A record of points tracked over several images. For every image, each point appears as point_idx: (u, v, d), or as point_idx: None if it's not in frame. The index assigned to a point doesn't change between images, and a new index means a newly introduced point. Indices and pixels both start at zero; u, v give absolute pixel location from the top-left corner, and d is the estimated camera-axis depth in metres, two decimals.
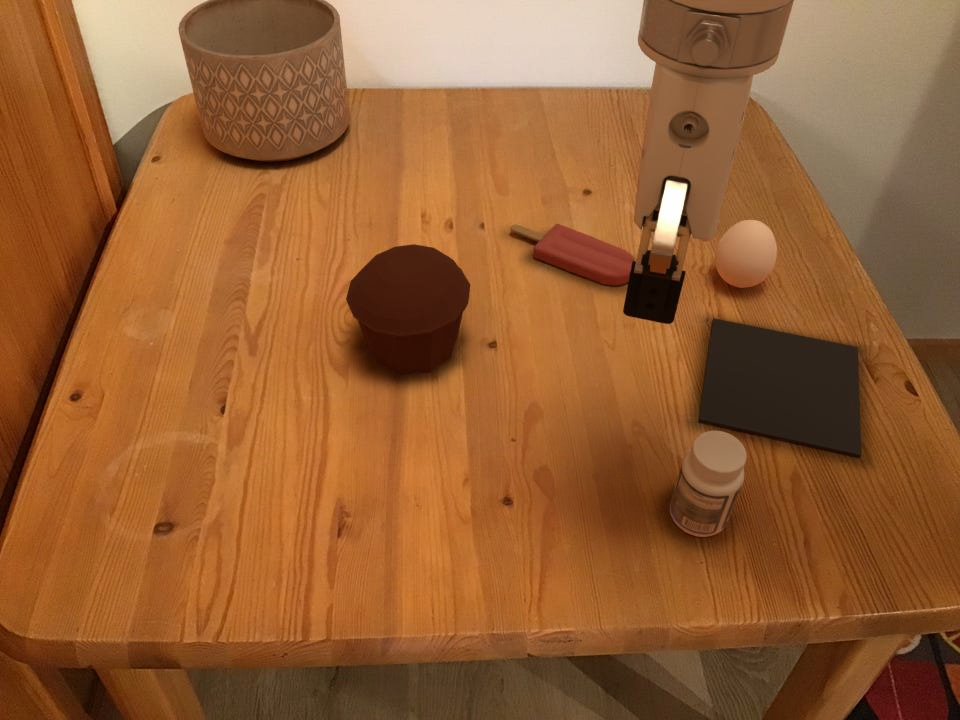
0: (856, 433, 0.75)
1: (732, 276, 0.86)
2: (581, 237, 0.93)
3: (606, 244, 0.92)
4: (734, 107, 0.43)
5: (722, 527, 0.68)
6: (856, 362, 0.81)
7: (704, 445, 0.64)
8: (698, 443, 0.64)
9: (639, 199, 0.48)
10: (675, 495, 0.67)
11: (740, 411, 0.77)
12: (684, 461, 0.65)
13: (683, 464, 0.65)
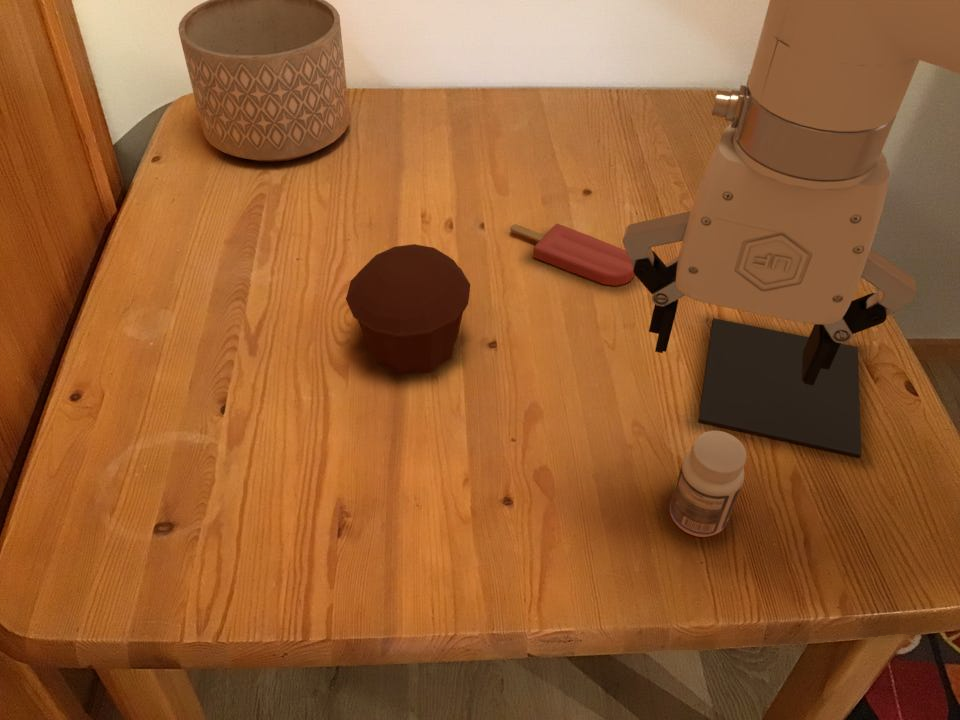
0: (856, 433, 0.75)
1: None
2: (581, 237, 0.93)
3: (606, 244, 0.92)
4: (714, 172, 0.46)
5: (722, 527, 0.68)
6: (856, 362, 0.81)
7: (704, 445, 0.64)
8: (698, 443, 0.64)
9: None
10: (675, 495, 0.67)
11: (740, 411, 0.77)
12: (684, 461, 0.65)
13: (683, 464, 0.65)
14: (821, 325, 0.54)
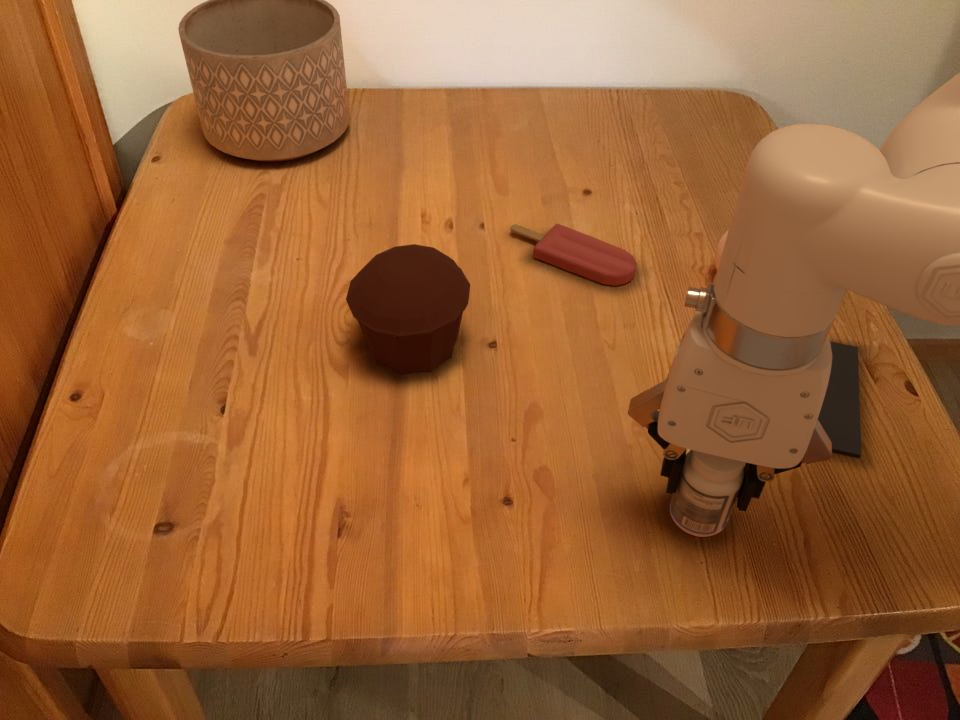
0: (856, 433, 0.75)
1: None
2: (581, 237, 0.93)
3: (606, 244, 0.92)
4: (687, 353, 0.55)
5: (722, 527, 0.68)
6: (856, 362, 0.81)
7: None
8: None
9: None
10: (675, 495, 0.67)
11: None
12: None
13: None
14: (750, 464, 0.64)
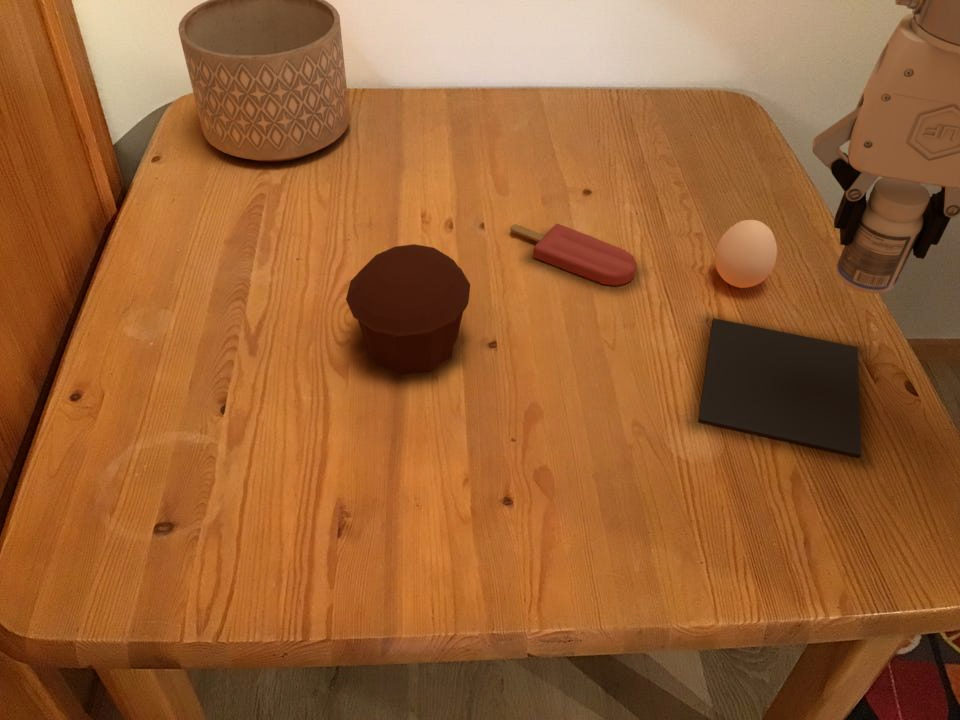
0: (856, 433, 0.75)
1: (732, 276, 0.86)
2: (581, 237, 0.93)
3: (606, 244, 0.92)
4: (897, 53, 0.55)
5: (894, 283, 0.68)
6: (856, 362, 0.81)
7: (885, 186, 0.64)
8: (879, 185, 0.64)
9: None
10: (847, 250, 0.67)
11: (740, 411, 0.77)
12: None
13: None
14: (932, 205, 0.64)
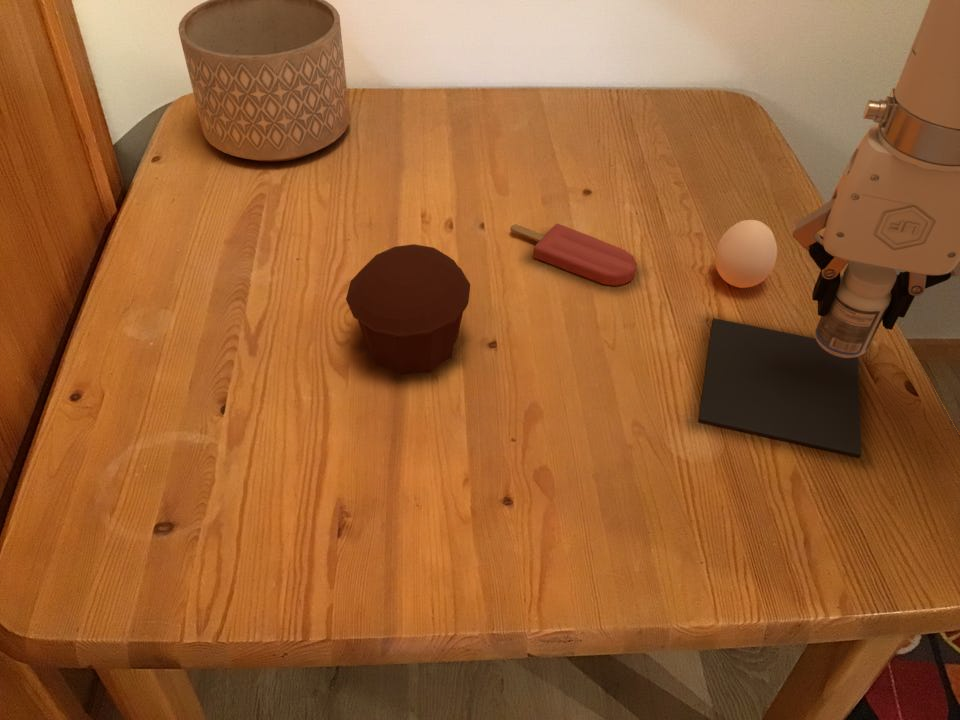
0: (856, 433, 0.75)
1: (732, 276, 0.86)
2: (581, 237, 0.93)
3: (606, 244, 0.92)
4: (865, 160, 0.63)
5: (866, 349, 0.75)
6: (856, 362, 0.81)
7: (858, 266, 0.71)
8: (852, 264, 0.71)
9: None
10: (824, 319, 0.75)
11: (740, 411, 0.77)
12: None
13: None
14: (899, 283, 0.71)
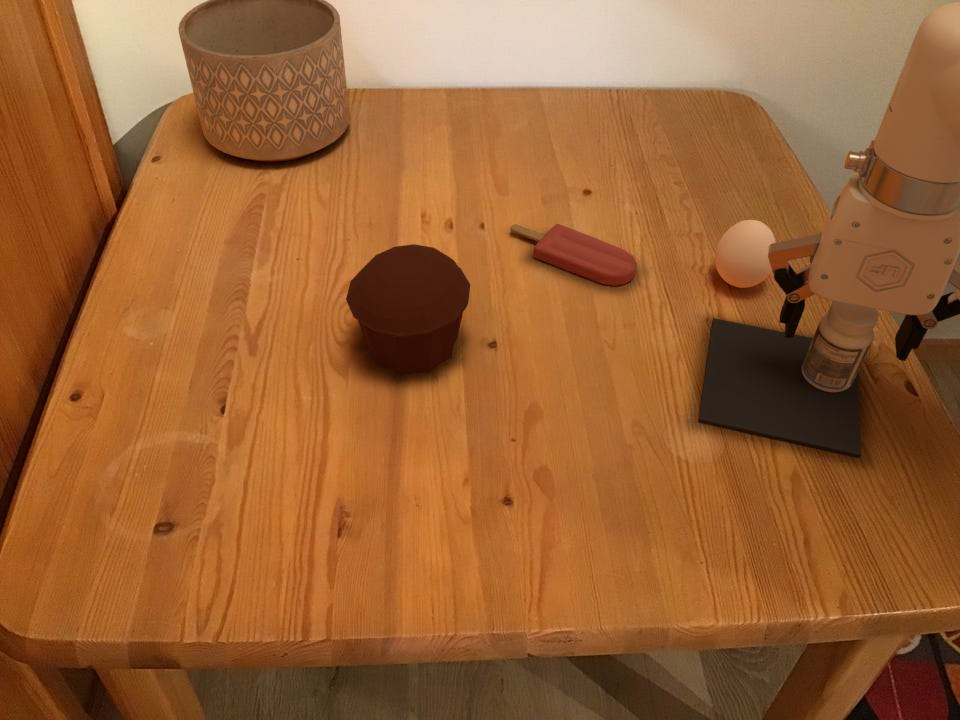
0: (856, 433, 0.75)
1: (732, 276, 0.86)
2: (581, 237, 0.93)
3: (606, 244, 0.92)
4: (846, 208, 0.66)
5: (850, 383, 0.78)
6: None
7: (841, 306, 0.74)
8: (836, 304, 0.75)
9: None
10: (810, 355, 0.78)
11: (740, 411, 0.77)
12: (821, 322, 0.76)
13: (820, 325, 0.76)
14: (912, 316, 0.73)
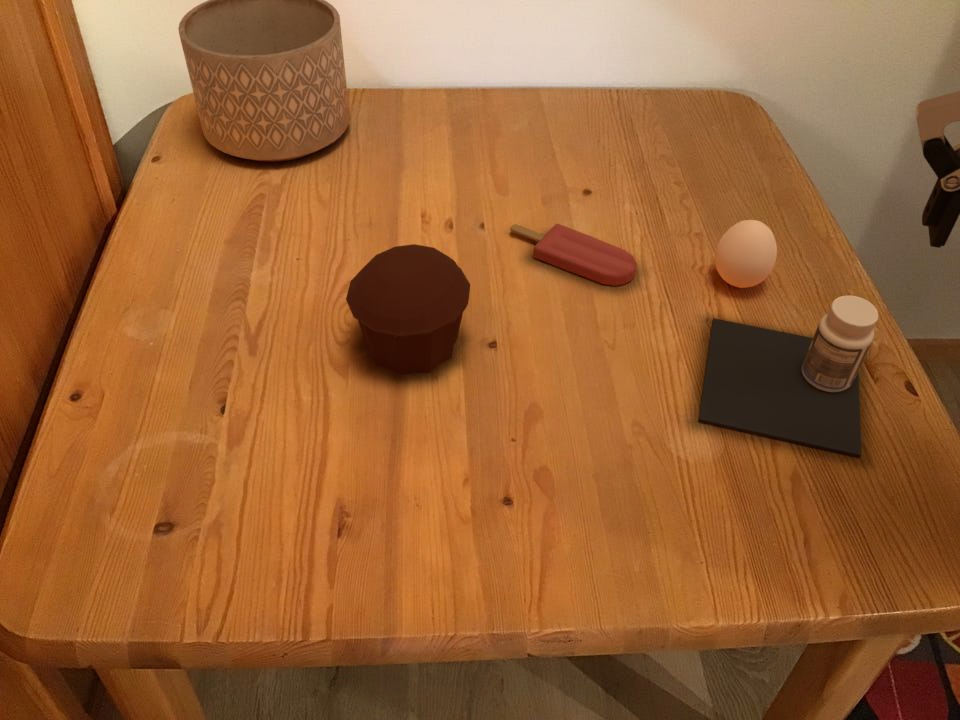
0: (856, 433, 0.75)
1: (732, 276, 0.86)
2: (581, 237, 0.93)
3: (606, 244, 0.92)
4: None
5: (850, 383, 0.78)
6: None
7: (841, 306, 0.74)
8: (836, 304, 0.75)
9: None
10: (810, 355, 0.78)
11: (740, 411, 0.77)
12: (821, 322, 0.76)
13: (820, 325, 0.76)
14: None
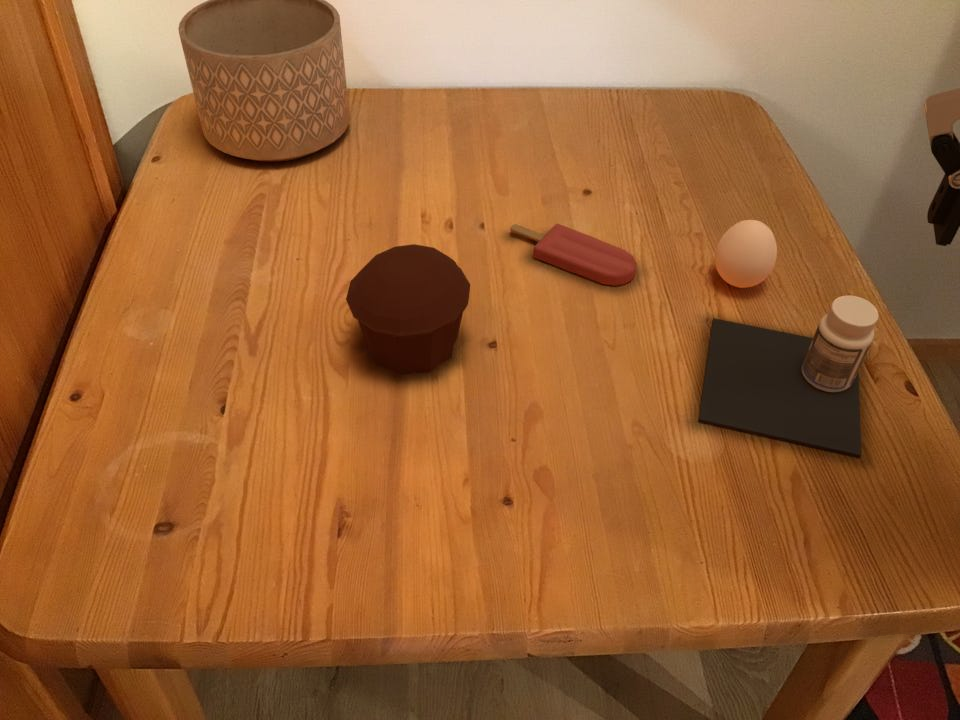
0: (856, 433, 0.75)
1: (732, 276, 0.86)
2: (581, 237, 0.93)
3: (606, 244, 0.92)
4: None
5: (850, 383, 0.78)
6: None
7: (841, 306, 0.74)
8: (836, 304, 0.75)
9: None
10: (810, 355, 0.78)
11: (740, 411, 0.77)
12: (821, 322, 0.76)
13: (820, 325, 0.76)
14: None
